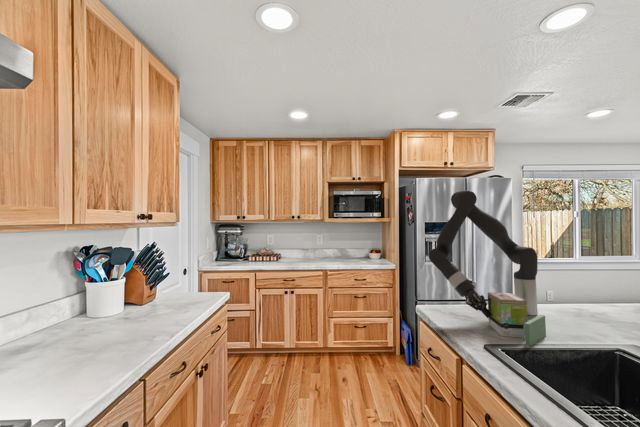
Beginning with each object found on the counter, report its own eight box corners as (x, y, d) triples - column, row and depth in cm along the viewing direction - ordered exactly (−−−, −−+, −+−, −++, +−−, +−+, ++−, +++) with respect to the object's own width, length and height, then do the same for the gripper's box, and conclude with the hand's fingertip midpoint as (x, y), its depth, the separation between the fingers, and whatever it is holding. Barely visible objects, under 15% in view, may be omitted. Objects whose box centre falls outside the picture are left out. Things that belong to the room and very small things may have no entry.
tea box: (529, 338, 120) (527, 300, 120) (501, 337, 122) (499, 299, 122) (512, 326, 134) (511, 292, 135) (488, 325, 136) (486, 291, 137)
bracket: (539, 334, 124) (538, 314, 124) (546, 335, 122) (544, 315, 122) (523, 344, 113) (522, 322, 114) (530, 346, 111) (529, 324, 112)
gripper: (459, 280, 135) (489, 314, 125) (473, 277, 143) (503, 309, 133) (448, 290, 139) (476, 324, 129) (463, 287, 147) (490, 318, 137)
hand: (490, 316), depth 131 cm, fingers closed
